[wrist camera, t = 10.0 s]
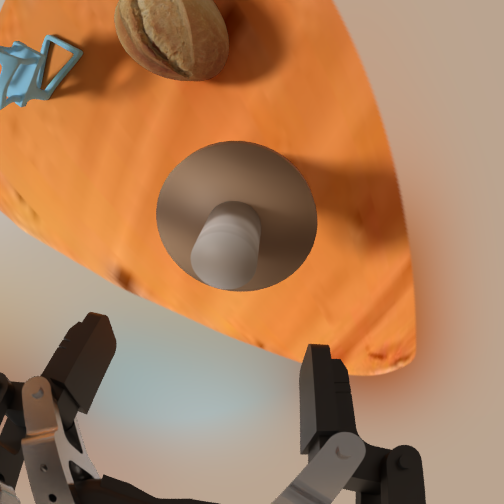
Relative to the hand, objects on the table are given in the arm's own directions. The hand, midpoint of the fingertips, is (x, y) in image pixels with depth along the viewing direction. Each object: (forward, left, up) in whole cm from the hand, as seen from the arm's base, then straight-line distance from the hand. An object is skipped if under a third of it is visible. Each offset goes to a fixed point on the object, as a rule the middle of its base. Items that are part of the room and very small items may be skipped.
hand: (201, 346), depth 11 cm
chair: (-14, -27, -25) cm, 39 cm away
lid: (0, 0, -12) cm, 12 cm away
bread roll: (-16, -9, -25) cm, 31 cm away
